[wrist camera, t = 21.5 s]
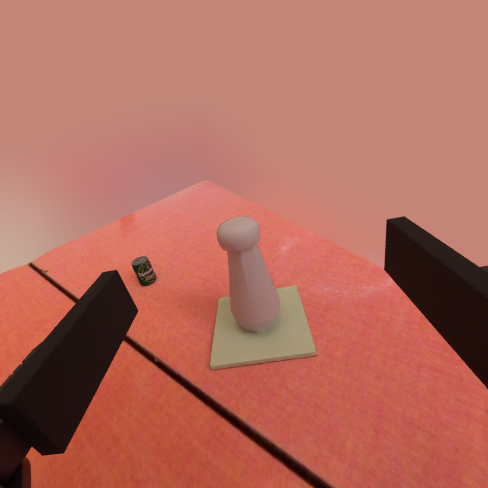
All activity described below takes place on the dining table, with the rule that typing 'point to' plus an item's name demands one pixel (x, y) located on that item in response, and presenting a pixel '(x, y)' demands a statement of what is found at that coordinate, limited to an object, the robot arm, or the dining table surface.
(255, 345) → the light mat
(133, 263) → the beer can
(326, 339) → the dining table surface
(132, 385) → the dining table surface
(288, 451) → the dining table surface
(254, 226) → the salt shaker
